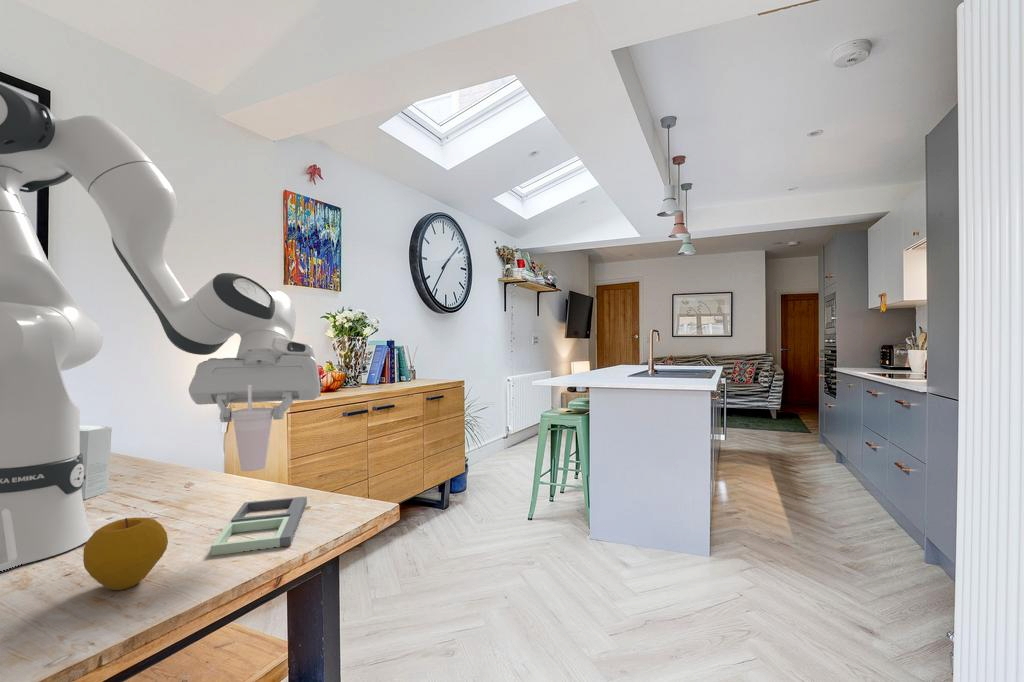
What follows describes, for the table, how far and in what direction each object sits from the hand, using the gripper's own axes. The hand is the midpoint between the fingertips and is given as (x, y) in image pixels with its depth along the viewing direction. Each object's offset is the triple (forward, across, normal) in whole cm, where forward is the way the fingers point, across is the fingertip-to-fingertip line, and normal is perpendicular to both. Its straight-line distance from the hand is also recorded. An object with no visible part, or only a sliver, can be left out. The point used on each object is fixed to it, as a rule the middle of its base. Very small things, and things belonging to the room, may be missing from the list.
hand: (252, 418), depth 77 cm
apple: (+22, -13, +7) cm, 26 cm away
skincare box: (-12, -41, +41) cm, 59 cm away
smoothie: (+6, 0, +7) cm, 9 cm away
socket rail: (+10, 0, +19) cm, 21 cm away
